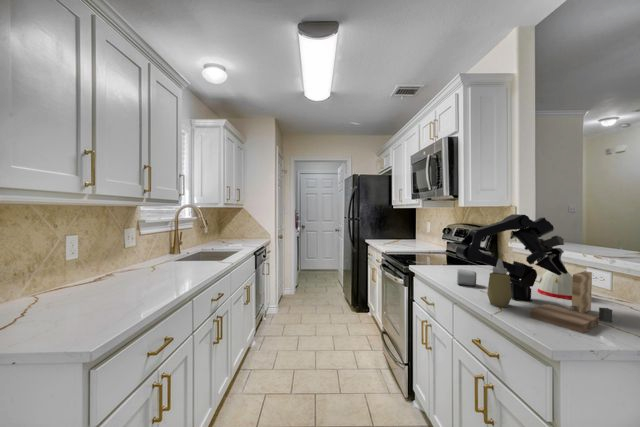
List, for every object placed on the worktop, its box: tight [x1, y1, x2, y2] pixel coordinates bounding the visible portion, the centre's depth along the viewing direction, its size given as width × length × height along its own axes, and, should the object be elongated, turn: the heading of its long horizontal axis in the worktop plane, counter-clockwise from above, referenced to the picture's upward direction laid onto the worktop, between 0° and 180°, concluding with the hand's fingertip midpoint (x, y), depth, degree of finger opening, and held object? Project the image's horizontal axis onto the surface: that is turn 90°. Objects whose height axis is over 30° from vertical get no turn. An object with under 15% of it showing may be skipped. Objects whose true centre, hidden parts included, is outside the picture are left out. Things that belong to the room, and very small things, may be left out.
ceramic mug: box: [456, 268, 477, 287], centre depth 139 cm, size 11×8×8 cm
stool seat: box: [529, 303, 600, 334], centre depth 94 cm, size 13×14×2 cm
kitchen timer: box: [537, 270, 573, 300], centre depth 123 cm, size 14×14×15 cm
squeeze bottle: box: [486, 258, 512, 308], centre depth 109 cm, size 8×8×18 cm
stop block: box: [598, 307, 613, 323], centre depth 95 cm, size 2×2×4 cm
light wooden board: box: [569, 270, 593, 314], centre depth 101 cm, size 13×2×14 cm, turn 120°
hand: (563, 274), depth 105 cm, fingers open, 5 cm apart
